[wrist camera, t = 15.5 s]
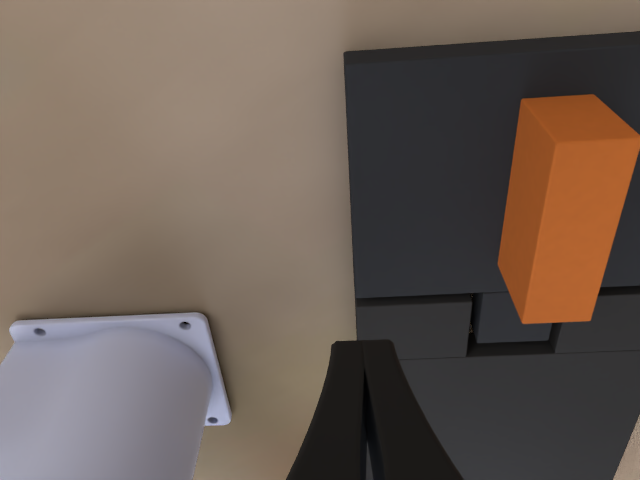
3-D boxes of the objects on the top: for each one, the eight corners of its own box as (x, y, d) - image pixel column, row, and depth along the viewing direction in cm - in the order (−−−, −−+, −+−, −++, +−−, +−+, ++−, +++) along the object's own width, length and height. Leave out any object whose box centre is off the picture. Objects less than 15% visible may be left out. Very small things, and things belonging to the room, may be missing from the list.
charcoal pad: (356, 325, 26) (361, 411, 22) (343, 51, 19) (347, 104, 15) (655, 312, 26) (718, 399, 21) (764, 21, 18) (891, 70, 14)
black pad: (362, 464, 33) (364, 488, 32) (354, 284, 25) (355, 306, 24) (601, 457, 32) (612, 481, 31) (672, 269, 24) (690, 292, 23)
